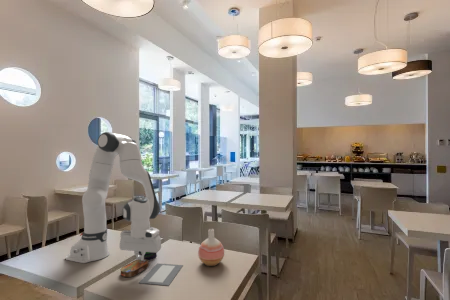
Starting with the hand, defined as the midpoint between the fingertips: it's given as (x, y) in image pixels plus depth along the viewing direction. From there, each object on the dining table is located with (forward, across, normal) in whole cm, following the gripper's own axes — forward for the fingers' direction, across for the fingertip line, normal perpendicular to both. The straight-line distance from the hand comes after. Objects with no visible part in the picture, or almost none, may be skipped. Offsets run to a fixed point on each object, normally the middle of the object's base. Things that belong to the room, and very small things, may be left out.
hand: (140, 259), depth 118 cm
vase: (+6, +32, +15) cm, 36 cm away
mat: (+6, +11, 0) cm, 13 cm away
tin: (+5, +1, +1) cm, 5 cm away
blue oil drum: (+6, -5, +17) cm, 19 cm away
